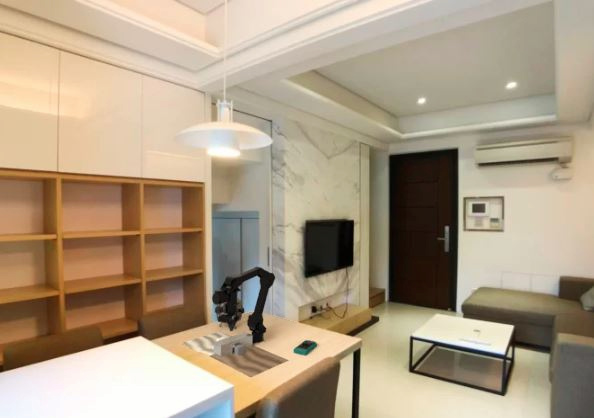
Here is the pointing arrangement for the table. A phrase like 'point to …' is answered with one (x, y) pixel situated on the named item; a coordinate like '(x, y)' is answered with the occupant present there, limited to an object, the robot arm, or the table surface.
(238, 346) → the plug
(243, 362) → the base board
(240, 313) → the tabletop clock
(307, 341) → the digital multimeter
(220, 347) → the motor housing
